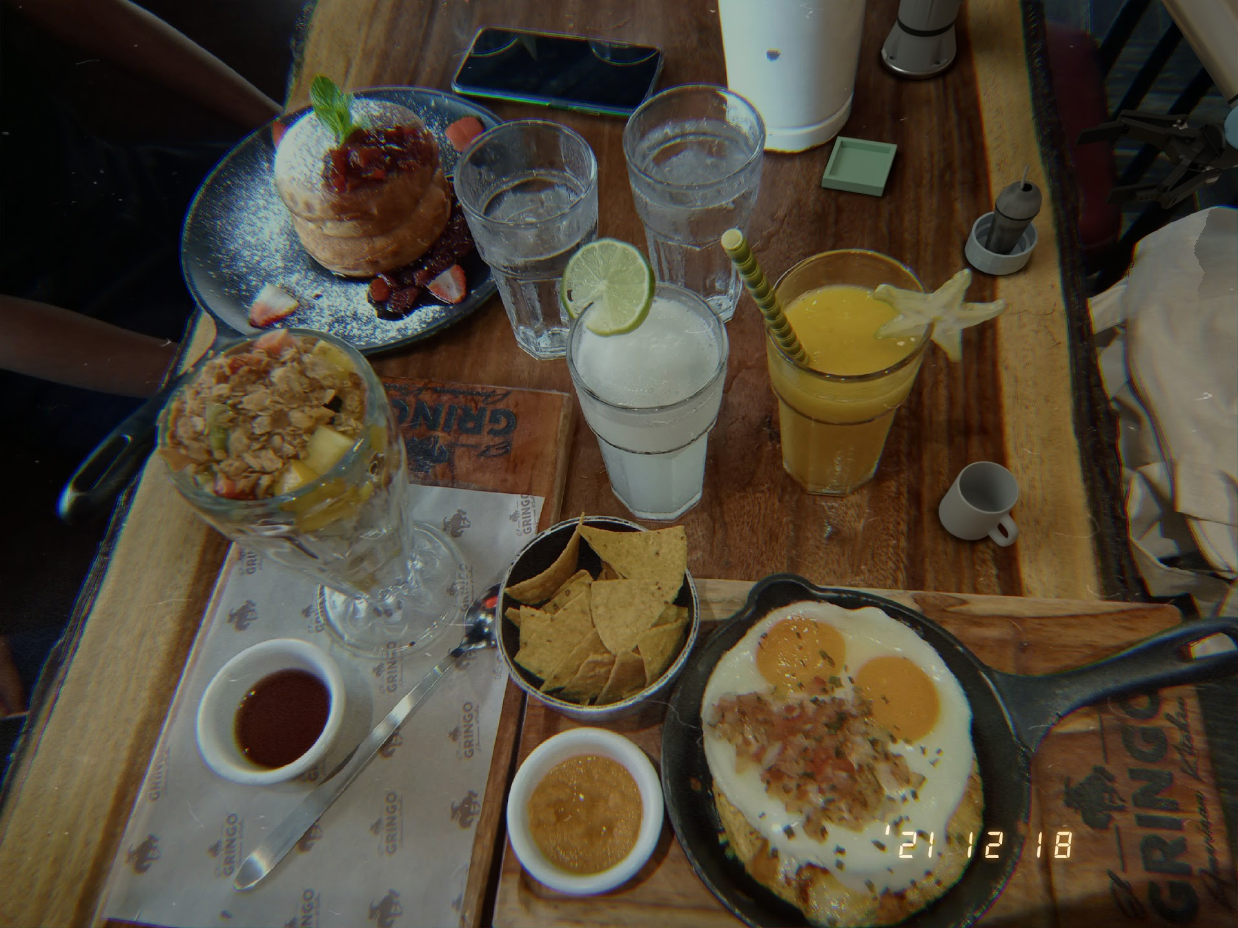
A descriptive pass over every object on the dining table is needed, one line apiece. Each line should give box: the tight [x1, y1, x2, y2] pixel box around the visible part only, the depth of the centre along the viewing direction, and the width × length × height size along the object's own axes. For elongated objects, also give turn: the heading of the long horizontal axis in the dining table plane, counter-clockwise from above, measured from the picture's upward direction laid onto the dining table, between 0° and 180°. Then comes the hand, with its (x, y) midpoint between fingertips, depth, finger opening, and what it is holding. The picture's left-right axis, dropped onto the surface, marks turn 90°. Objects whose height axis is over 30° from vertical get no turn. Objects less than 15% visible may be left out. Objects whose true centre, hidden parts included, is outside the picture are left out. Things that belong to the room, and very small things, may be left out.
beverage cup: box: [984, 163, 1043, 255], centre depth 127 cm, size 7×7×20 cm
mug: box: [938, 461, 1020, 547], centre depth 109 cm, size 12×8×11 cm
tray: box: [821, 136, 898, 197], centre depth 148 cm, size 12×12×2 cm
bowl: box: [964, 210, 1040, 276], centre depth 134 cm, size 11×11×5 cm
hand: (1093, 166), depth 119 cm, fingers open, 13 cm apart
